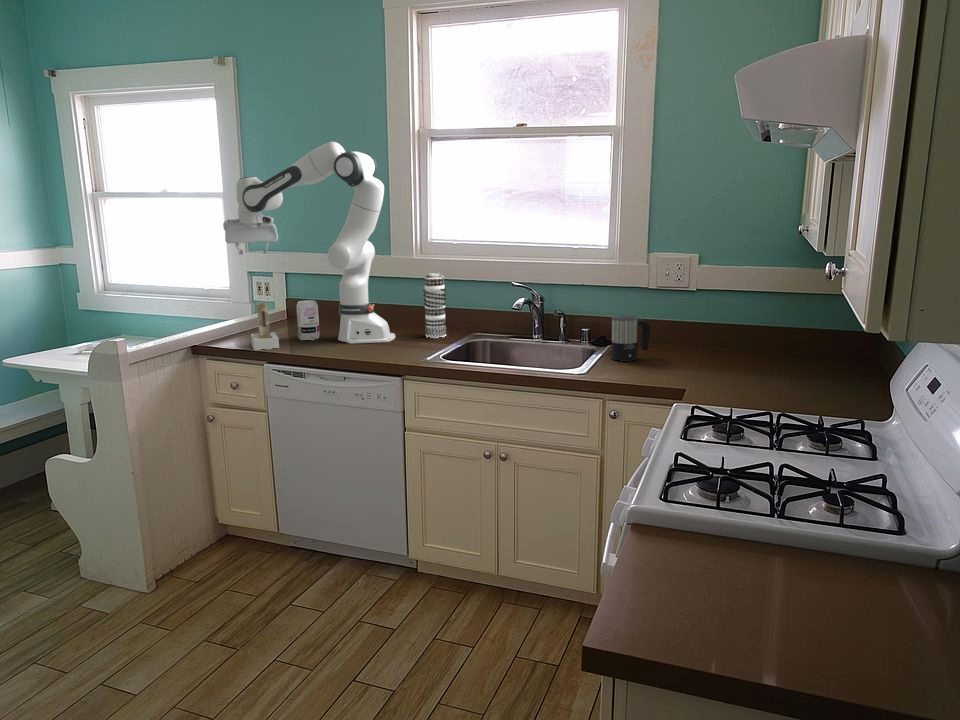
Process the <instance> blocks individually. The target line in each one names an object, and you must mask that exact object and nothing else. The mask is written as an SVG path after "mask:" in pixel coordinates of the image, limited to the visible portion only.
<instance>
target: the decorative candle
mask: <svg viewBox="0 0 960 720" xmlns="http://www.w3.org/2000/svg"><path fill="white" fill-rule="evenodd" d="M422 291H423V297H424V298H423V305H424V309H425V319H424V321H425V323H424V325H425V327H424V329H425V331H424V334H425V336H426V337H425V338H428V337H430V338H429V339H440V338H439V337H442V338H446V337H447V334H446V333H447V326H446V325H447V323H446V321H447V319H446V311H445V308H446V304H447V303H446V302H445V300H447V298H446V296H447V294H446V293H445V291H447V288H445V276H443V274H442V273H438V272H432V273H431V272H430V273H427V274H426V275H425V277H424V288H423V290H422ZM445 336H446V337H445Z"/></svg>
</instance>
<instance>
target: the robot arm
mask: <svg viewBox="0 0 960 720" xmlns="http://www.w3.org/2000/svg"><path fill="white" fill-rule="evenodd" d="M377 171H378V165H377V160H376V159H375V158H374V156H372V155H370V154H369V153H367V152H360V151H356V150H355V151H346V150H345V148H344V147H343V146H342V145H341V144H340V143H338V142H336V141H328V142H326V143H324V144H322V145H320V146H317V147H316V148H314V149H312V150H310V151H309V152H307V153H306V154H305V155H303V156H302V157H300V158H299V159H298V160H297V161H295V162H294V163H292V164H291V165H290V166H288V167H286V168H285V169H283V170H282V171H280V172H278V173H276V174H275V175H273V176H272V177H269V178H268V179H267V180H265V181H261V179H259V178H258V177H256V176H244V177H242V178H239V179H237V181H236V201H237V204H238V208H237V215H238V218H236V219H226V220H224V222H223V224H222V227H223V230H224V231H225V233H224V235H225V236H224V238H225V240H224V241H225V242H226V243H227V244H235V245H234V246H235V248H236V249H237V250H238V255H240V256H241V255H243V254H244V253H243V249H241V248H240V247H239V246H240V244H241V243H242V244H243V243H244V244H245V243H246V244H249V243H265V244H264V245H266V246H265V248H263V249H262V253H263V254H268V249H269V246H270V243H271V242H274V243H275V242H278V240H279V235H278V228H277V226H276V224H274V221H275V219H274V217H272V216H269V215H268V216H267V214H262V212H264V211H265V212H266V211H275V210H278V209H279V208H281V206H282V205H283V203H284V194H283V192H284V191H286V190H288V189H290V188H294V187H298V186H307V185H314V184H317V183H319V182H321V181H323V180H325V179H327V178H328V177H330V176H331V175H333V174H335V175H336V176H337V177H338V178H339V179H340V180H342V181H343V182H345V183H346V184H347V185H348V186H350V187H351V188H352V187H354V194H353V197H352V199H351V200H352V201H351V204H350V206H349V207H350V208H349V210H348V214H347V217H346V220H345V222H344V223H343V226H342V228H341V230H340V233H338V236H337V238H336V240H335V241H334V242H333V244H332V245H331V246H330V247H329V249H328V251H327V260H328V262H329V264H330V265H331V266H332V267H333V268H335V269H337V270H342V271H343V272H342V273H343V274H342V276H341V280H340V281H339V285H338V286H339V288H338V289H339V306H338V311H339V313H338V315H339V318H340V324H339V325H340V326H339V333H338V337H337V340H338V341H340V342H345V343H347V344H369V343H370V344H371V343H388V342H392V341H393V340H395V339H396V334H395V333H394V332H390V331H391V330H390V327H389V324H388V321H386V320H385V319H384V318H383V317H381V316H380V315H378V314H377V313H376V312H375V303H374V304H372V303H370V302H369V301H370V300H369V277H370V272H371V267H372V262H373V260H374V258H375V255H376V250H375V246H374V245H373V243H372V242H371V241H369V238H370V236H371V235H372V234H374V231H375V229H376V226H377V223H378V220H379V217H380V214H381V209H382V207H383V202H384V195H385V185H384V183H383V182H382V181H381V180H380V179H378V178H377V177H375V175H376V173H377Z"/></svg>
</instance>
